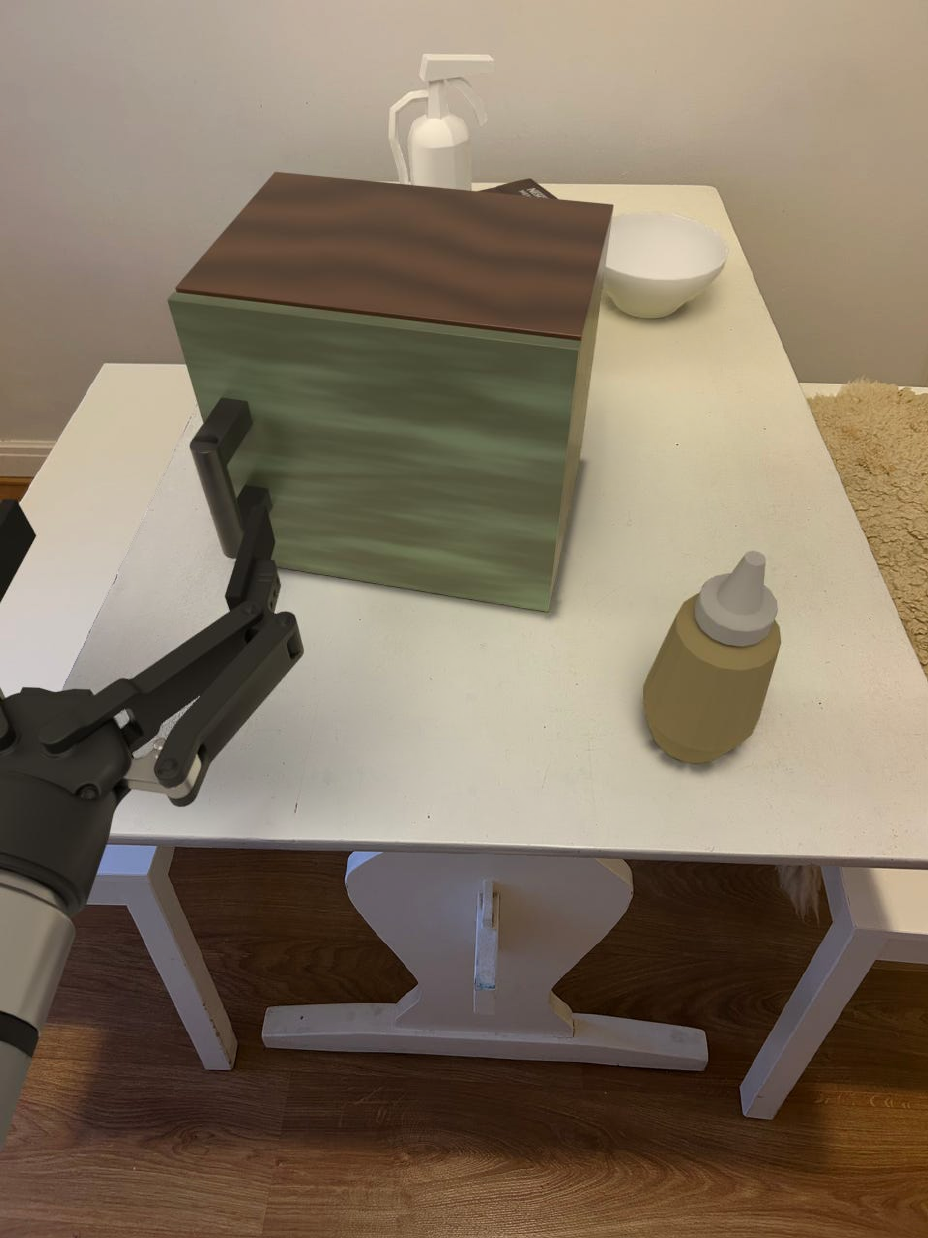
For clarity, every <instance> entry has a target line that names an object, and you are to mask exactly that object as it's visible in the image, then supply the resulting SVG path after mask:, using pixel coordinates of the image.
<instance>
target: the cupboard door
mask: <svg viewBox="0 0 928 1238" xmlns="http://www.w3.org/2000/svg"><path fill="white" fill-rule="evenodd" d="M166 301H167V305H168V308H169V310H170V315H171V318H172V321H173V325H174V329H175V332H176V335H177V338H178V341H179V346H180V349H181V353H182V355H183V358H184V362H185V366H186V369H187V373H188V376H189V379H190V383H191V386H192V389H193V393H194V396H195V400H196V403H197V406H198V409H199V414H200V417H201V420H202V425H200V427H199V429H198V430H197V432H196V433H195V435H194V436H193V438H191V440H190V442H189V450H190V453H191V456H192V460H193V462H194V465H195V469H196V472H197V475H198V478H199V481H200V485H201V488H202V491H203V494H204V498H205V500H206V504H207V507H208V510H209V512H210V516H211V519H212V522H213V525H214V528H215V531H216V535H217V538H218V541H219V544H220V548H221V550H222V554H223V555H224V557H226V558H228V559H230V560H236V558H237V554H238V551H239V548H240V545H241V541H242V538H243V535H244V532H245V528H246V525H247V522H248V519H249V515H250V512H251V509H252V506H253V505H255V506H267V510H268V514H269V518H270V522H271V526H272V530H273V534H274V538H275V546H274V550H273V554H272V557H271V560H274V561H275V564H276V568H281V569H282V568H283V569H287V570H293V571H299V572H306V573H312V574H317V575H325V576H330V577H336V578H343V579H347V580H353V581H359V582H365V583H371V584H372V583H373V584H378V585H383V586H384V585H385V586H390V587H395V588H396V587H397V588H403V589H407V590H414V591H420V592H425V593H432V594H436V595H437V594H438V595H444V596H450V597H456V598H461V599H468V600H474V601H480V602H485V603H491V604H498V605H503V606H510V607H514V608H522V609H527V610H534V611H539V612H540V611H541V612H546V613H548V612H549V611H550V606H551V601H552V597H551V591H552V583H553V574H554V566H555V557H556V549H557V540H558V532H559V523H560V515H561V507H562V498H563V490H564V481H565V473H566V464H567V456H568V447H569V439H570V430H571V422H572V413H573V405H574V396H575V388H576V380H577V371H578V363H579V354H580V346H581V341H577V340H569V339H560V338H552V337H544V336H535V335H527V334H519V333H511V332H502V331H494V330H486V329H477V328H469V327H461V326H452V325H444V324H436V323H427V322H419V321H411V320H402V319H394V318H386V317H377V316H369V315H361V314H353V313H344V312H336V311H328V310H319V309H311V308H303V307H294V306H286V305H278V304H269V303H261V302H253V301H244V300H236V299H228V298H220V297H211V296H203V295H195V294H186V293H178V292H176V291H173V292H172V293H171V294H170V295H169V297H168V298H167V299H166ZM550 600H551V601H550Z"/></svg>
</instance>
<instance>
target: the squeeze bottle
mask: <svg viewBox="0 0 928 1238" xmlns="http://www.w3.org/2000/svg"><path fill="white" fill-rule="evenodd" d="M766 561H767V559H766V556H765V555H764V554H763V553H762V552H760V551H758V550H749V551H747V552H745V554H744V555H743V556H742V557H741V559H740V560H739V562H738V563H737V564H736V566H735V567H734V568H733V570H732V571H731V572H727V573H722V574H717V575H714V576H712V577H710V578H709V579H707V580H706V581H704V583H703V584H702V587H701V589H700V590H699V592H697V593H695V594H694V595H692V596H691V597H689V598H688V599H686V600H685V601H683V603H682V604H681V606H680V608H679V609H678V611H677V613H676V614H675V616H674V619H673V621H672V623H671V624H670V627H669V629H668V630H667V634H666V635H665V638H664V640H663V642H662V644H661V646H660V649H659V650H658V653H657V654H656V657H655V659H654V661H653V663H652V665H651V667H650V670H649V671H648V674H647V676H646V678H645V680H644V682H643V684H642V706H643V711H644V714H645V717H646V720H647V724H648V728H649V730H650V733H651V736H652V737H653V739H654V742H655V743H656V745H658V746H659V748H660V749H662V751H663V752H665V753H666V754H667V755H668V756H670V757H673V758H675V759H677V760H678V761H681V762H684V763H692V764H703V763H708V762H711V761H716V760H717V759H719V758H720V757H722V756H723V755H725V754H727V753H728V752H730V751H732V750H733V749H735V748H736V747H738V746H739V745H741V744H742V743H743V742H745V741H746V740H748V738H750V737H751V736H752V735H753V733H754V731H755V729H756V726H757V724H758V722H759V720H760V717H761V713H762V711H763V707H764V704H765V700H766V697H767V694H768V690H769V686H770V683H771V679H772V676H773V673H774V670H775V666H776V663H777V659H778V656H779V652H780V648H781V645H782V637H781V636H782V634H781V627H780V625H779V623H778V622H777V620H776V618H777V616H778V613H779V606H778V601H777V600H778V599H777V598H776V596H775V595H774V594H773V592H772V590H771V589H770V588H769V587H767V586H766V585H765V575H766V574H765V573H766Z"/></svg>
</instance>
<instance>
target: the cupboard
mask: <svg viewBox="0 0 928 1238" xmlns="http://www.w3.org/2000/svg"><path fill="white" fill-rule="evenodd" d="M479 191H480V190H472V191H469V190H459V189H448V188H438V187H428V186H417V185H411V184H409V185H407V184H400V183H396V182H386V181H375V180H364V179H355V178H343V177H334V176H323V175H314V174H313V175H312V174H301V173H294V172H293V173H292V172H284V171H283V172H281V171H274V172H273V173H272V175H270V177H269V178H268V179H267V180H266V181H265V183H263V185H262V186H261V187H260V189H258V191H257V192H256V193H255V194H254V195H253V197H252V198H251V199H250V200H249V201H248V202H247V204H245V206H244V207H243V208H242V209H241V211H239V212H238V214H237V215H236V216H235V217H234V218H233V220H232V221H231V222H230V223H229V224H228V225H227V226H226V228H224V230H223V231H222V233H221V234H219V236H218V237H217V238H216V239H215V241H214V242H213V243H212V244H211V245H210V246H209V247H208V249H207V250H206V251H205V252H204V254H202V255H201V256H200V258H199V259H198V260H197V261H196V262H195V264H194V265H193V266H192V267H191V268H190V269H189V270H188V272H187V273H186V274H185V275H184V277H182V279H181V280H180V281H179V282H178V284H177V285H176V286H175V287H174V289H175V292H178V293H186V294H195V295H203V296H211V297H220V298H228V299H236V300H244V301H253V302H261V303H269V304H278V305H286V306H294V307H303V308H311V309H319V310H328V311H336V312H344V313H353V314H361V315H369V316H377V317H386V318H394V319H402V320H411V321H419V322H427V323H436V324H444V325H452V326H461V327H469V328H477V329H486V330H494V331H502V332H511V333H519V334H527V335H535V336H544V337H552V338H560V339H569V340H577V341H581V346H580V354H579V363H578V371H577V380H576V388H575V396H574V405H573V413H572V422H571V430H570V439H569V447H568V456H567V464H566V473H565V481H564V490H563V498H562V507H561V515H560V523H559V532H558V540H557V549H556V557H555V566H554V574H553V583H552V591H551V598H552V597H553V592H554V588H555V587H554V586H555V582H556V578H557V577H556V576H557V574H558V573H557V572H558V568H559V562H560V559H561V553H562V549H563V544H564V539H565V536H566V535H565V534H566V531H567V524H568V520H569V516H570V512H571V511H570V510H571V505H572V500H573V497H574V496H573V495H574V491H575V486H576V480H577V476H578V472H579V467H580V461H581V453H582V447H583V440H584V432H585V425H586V424H585V423H586V416H587V408H588V401H589V393H590V386H591V379H592V371H593V363H594V356H595V349H596V342H597V341H596V340H597V335H598V334H597V333H598V327H599V318H600V311H601V303H602V298H603V297H602V296H603V290H604V288H603V282H604V274H605V267H606V259H607V252H608V244H609V237H610V229H611V221H612V216H613V213H614V204H612V203H604V202H603V203H601V202H593V201H592V202H591V201H581V200H571V199H563V198H561V199H560V198H558V199H552V198H541V197H531V196H521V195H510V194H500V193H490V192H479ZM551 601H552V599H551V600H550V602H551Z"/></svg>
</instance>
